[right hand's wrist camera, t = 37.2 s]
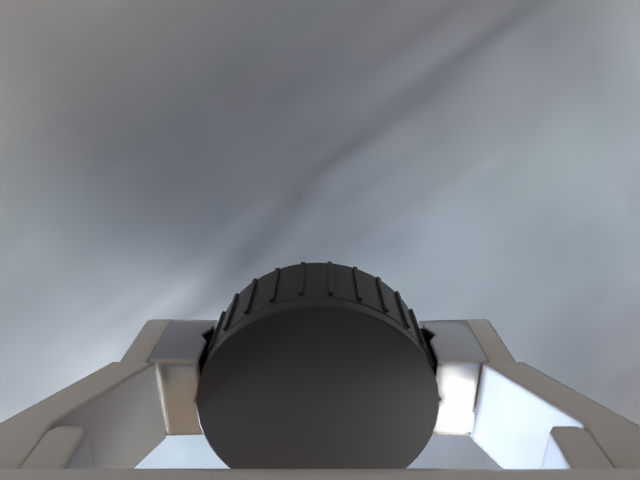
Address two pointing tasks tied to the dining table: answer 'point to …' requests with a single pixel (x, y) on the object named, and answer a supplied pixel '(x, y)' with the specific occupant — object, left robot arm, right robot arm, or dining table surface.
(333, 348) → the cap
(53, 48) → the dining table surface
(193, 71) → the dining table surface
